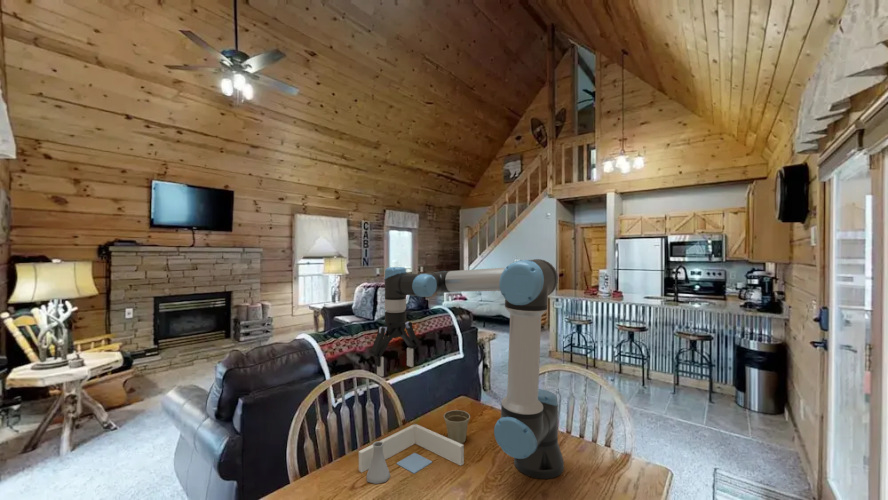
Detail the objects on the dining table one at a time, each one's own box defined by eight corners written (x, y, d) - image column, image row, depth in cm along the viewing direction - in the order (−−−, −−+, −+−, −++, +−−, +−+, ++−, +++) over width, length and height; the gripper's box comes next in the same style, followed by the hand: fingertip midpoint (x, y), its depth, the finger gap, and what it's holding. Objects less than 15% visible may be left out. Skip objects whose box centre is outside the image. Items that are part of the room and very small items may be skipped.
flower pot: (460, 450, 127) (460, 424, 127) (438, 441, 133) (438, 417, 133) (475, 438, 135) (475, 414, 135) (453, 430, 140) (453, 407, 140)
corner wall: (463, 463, 119) (463, 444, 119) (408, 502, 101) (407, 480, 101) (415, 440, 134) (414, 423, 134) (358, 470, 116) (358, 451, 116)
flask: (369, 469, 116) (368, 437, 116) (392, 470, 116) (392, 437, 116) (363, 484, 109) (363, 450, 109) (388, 484, 109) (388, 450, 109)
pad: (432, 462, 120) (432, 461, 120) (414, 473, 114) (414, 473, 114) (414, 453, 125) (414, 452, 125) (396, 463, 119) (396, 463, 119)
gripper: (414, 305, 145) (414, 360, 145) (359, 314, 127) (359, 377, 127) (428, 307, 140) (428, 364, 140) (372, 317, 122) (373, 382, 122)
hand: (395, 370), depth 134 cm, fingers open, 13 cm apart
